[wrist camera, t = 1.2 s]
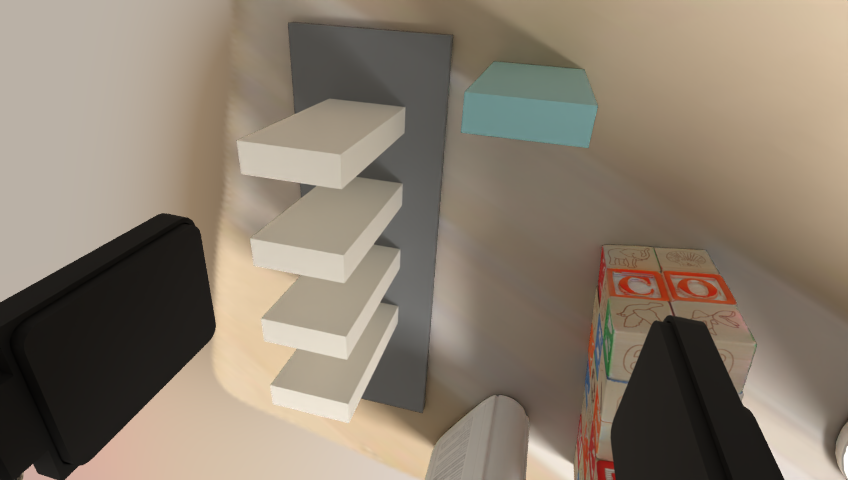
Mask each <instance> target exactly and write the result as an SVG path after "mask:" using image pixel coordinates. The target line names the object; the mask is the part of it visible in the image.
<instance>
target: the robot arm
mask: <svg viewBox="0 0 848 480" xmlns="http://www.w3.org/2000/svg"><path fill="white" fill-rule="evenodd" d="M215 328H216V322H215V316H214V310H213V305H212V299H211V293H210V287H209V281H208V275H207V269H206V263H205V257H204V252H203V245H202V240H201V234H200V230H199V229H198V228H197V227H196V226H195V224H194V222H193V221H192V220H191V219H189V218H186V217H181V216H176V215H171V214H164V213H162V214H159V215H157V216H155V217H153V218H151V219H149V220H148V221H146V222H144V223H142V224H141V225H139V226H137V227H135V228H133V229H131V230H130V231H128V232H126V233H124V234H122V235H121V236H119V237H117V238H116V239H113V240H112V241H110V242H108V243H106V244H104V245H103V246H101V247H99V248H97V249H96V250H94V251H92V252H90V253H88V254H87V255H85V256H83V257H81V258H79V259H78V260H76V261H74V262H72V263H70V264H69V265H67V266H65V267H63V268H61V269H60V270H58V271H56V272H54V273H52V274H51V275H49V276H47V277H45V278H43V279H42V280H40V281H38V282H36V283H34V284H33V285H31V286H29V287H27V288H26V289H24V290H22V291H20V292H18V293H17V294H15V295H13V296H11V297H9V298H7V299H6V300H4V301H2V302H0V480H23V472H24V471H25V470H26V469H28V468H29V467H30V466H31V465H32V464H34V467H35V468H36V471H37V472H38V474H41V475H44V476H47V477H50V478H53V479H57V480H65V479H66V478H67V477H68V476H69V475H70V474H71V473H72V472H73V471H74V470H75V469H76V468H77V467H78V466H80V465H84V464H86V463H87V462H89V461H90V460H91V459H92V458H93V457H94V456H95V455H96V454H97V453H98V452H99V451H100V450H101V449H102V448H103V447H104V446H105V445H106V444H107V443H108V442H109V441H110V440H111V439H112V438H113V437H114V436H115V435H116V434H117V433H118V432H119V431H120V430H121V429H122V428H123V427H124V426H125V425H126V424H127V423H128V422H129V421H130V420H131V419H132V418H133V417H134V416H135V415H136V414H137V413H138V412H139V411H140V410H141V409H142V408H143V407H144V406H145V405H146V404H147V403H148V402H149V401H150V400H151V399H152V398H153V397H154V396H155V395H156V394H157V393H158V392H159V391H160V390H161V389H162V388H163V387H164V386H165V385H166V384H167V383H168V382H169V381H170V380H171V379H172V378H173V377H174V376H175V375H176V374H177V373H178V372H179V371H180V370H181V369H182V368H183V367H184V366H185V365H186V364H187V363H188V362H189V361H190V360H191V359H192V358H193V357H194V356H195V355H196V354H197V353H198V352H199V351H200V350H201V349H202V348H203V347H204V346H205V345H206V344H207V343H208V342H209V341H210V340H211V338H212V337H213V335H214V332H215ZM610 438H611V448H612V456H613V463H614V471H615V479H616V480H784V478H783V476H782V474H781V471H780V469H779V467H778V465H777V463H776V461H775V459H774V457H773V455H772V452H771V450H770V448H769V446H768V444H767V442H766V440H765V438H764V436H763V433H762V431H761V429H760V427H759V425H758V423H757V421H756V419H755V417H754V416H753V414H752V413H751V411H750V410H749V409H747V408H746V407H744V406H743V404H742V402H741V400H740V398H739V395H738V393H737V391H736V389H735V387H734V384H733V382H732V380H731V378H730V376H729V374H728V371H727V369H726V367H725V365H724V363H723V360H722V358H721V356H720V354H719V352H718V350H717V347H716V345H715V343H714V341H713V339H712V336H711V334H710V332H709V330H708V328H707V326H706V324H705V323H704V322H702V321H697V320H692V319H687V318H682V317H677V316H673V315H668V316H666V318H665V319H664V320H663V322H662V321H657V320H656V321H654V322H653V323H652V325H651V327H650V329H649V332H648V334H647V337H646V339H645V342H644V344H643V347H642V349H641V352H640V354H639V357H638V359H637V362H636V364H635V367H634V369H633V372H632V374H631V377H630V379H629V382H628V384H627V387H626V389H625V392H624V394H623V397H622V399H621V402H620V404H619V407H618V409H617V412H616V414H615V417H614V419H613V422H612V426H611V437H610ZM835 455H836V460H837V464H838V467H839V468H840V470H841V472H842V474H843V475H844V477H845V479H846V480H848V421H847V423H846V424H845V425H844V426H843V428H842V429H841V432H840V434H839V436H838V439H837V441H836V450H835Z"/></svg>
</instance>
